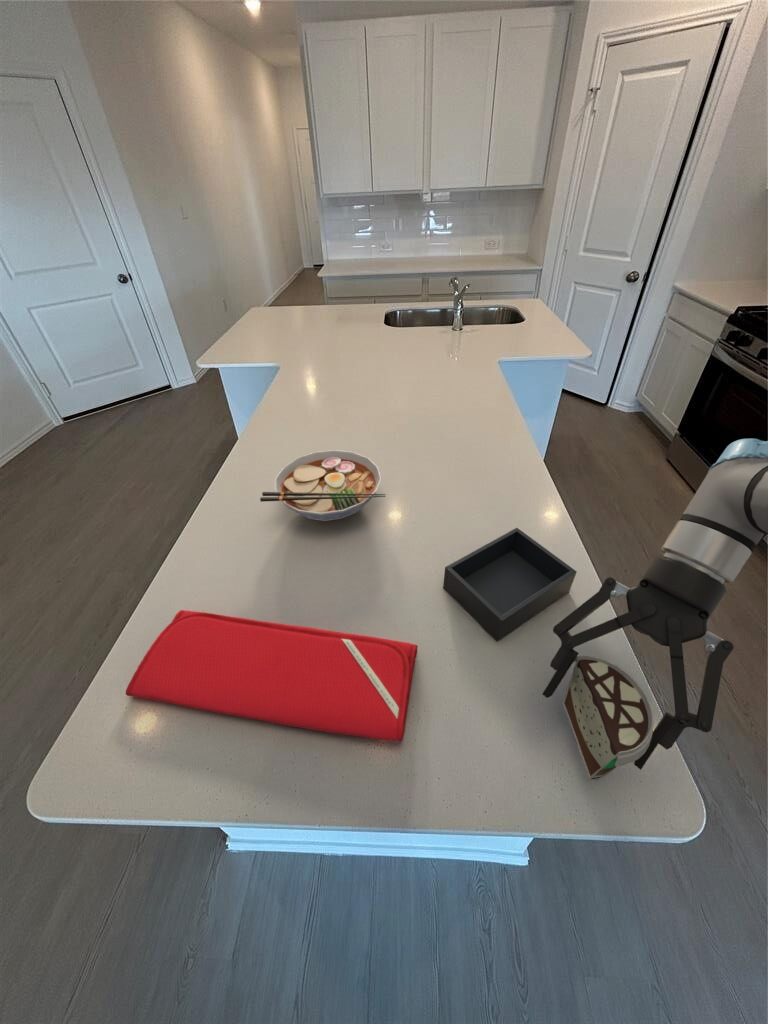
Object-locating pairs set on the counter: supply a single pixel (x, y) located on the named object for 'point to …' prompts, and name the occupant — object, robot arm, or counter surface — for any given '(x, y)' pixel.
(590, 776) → the halved ice cream tub
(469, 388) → the counter surface
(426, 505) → the counter surface
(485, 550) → the bin
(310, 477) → the ramen bowl
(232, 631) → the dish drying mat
